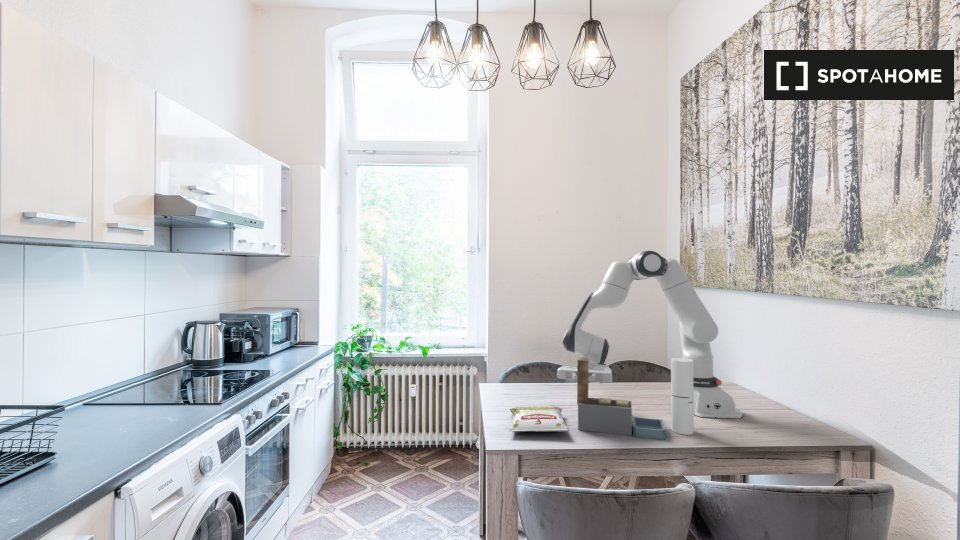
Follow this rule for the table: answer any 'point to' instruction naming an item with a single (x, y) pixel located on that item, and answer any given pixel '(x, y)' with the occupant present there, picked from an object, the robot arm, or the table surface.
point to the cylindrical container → (682, 396)
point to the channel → (605, 417)
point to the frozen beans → (537, 419)
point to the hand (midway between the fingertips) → (582, 378)
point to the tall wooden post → (582, 380)
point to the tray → (648, 428)
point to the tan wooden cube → (622, 403)
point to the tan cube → (604, 401)
